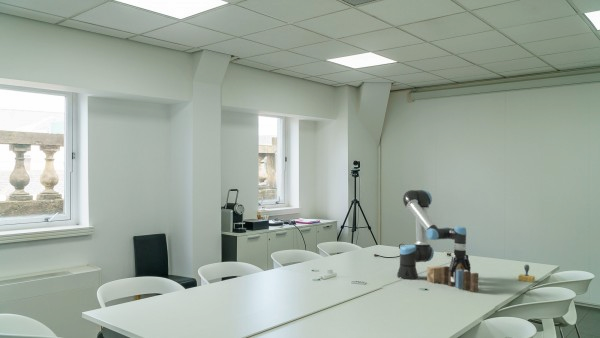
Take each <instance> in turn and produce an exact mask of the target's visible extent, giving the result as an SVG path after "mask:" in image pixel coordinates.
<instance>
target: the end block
mask: <svg viewBox="0 0 600 338" xmlns="http://www.w3.org/2000/svg"><path fill="white" fill-rule="evenodd" d="M442 267H443V266H442V265H441V266H440V265H437V266H429V267H427V268H426V269H427V270H426V271H427V273H426V274H427V275H426V277H427V278H426V282H428V283H432V284H436V283H442Z"/></svg>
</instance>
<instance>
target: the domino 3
mask: <svg viewBox="0 0 600 338" xmlns="http://www.w3.org/2000/svg"><path fill="white" fill-rule="evenodd" d="M455 289H463V270H461V269H460V270H456V286H455Z"/></svg>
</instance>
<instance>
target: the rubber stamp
mask: <svg viewBox="0 0 600 338" xmlns="http://www.w3.org/2000/svg"><path fill="white" fill-rule="evenodd" d="M523 270H524V271H525V274H519V275H518V279H517V280H518V281H519V282H520V281H522V282H529V283H535V280H536V277H535V276H534V275H529V274H528V273H529V270H530V265H529V264H524V269H523Z"/></svg>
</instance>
